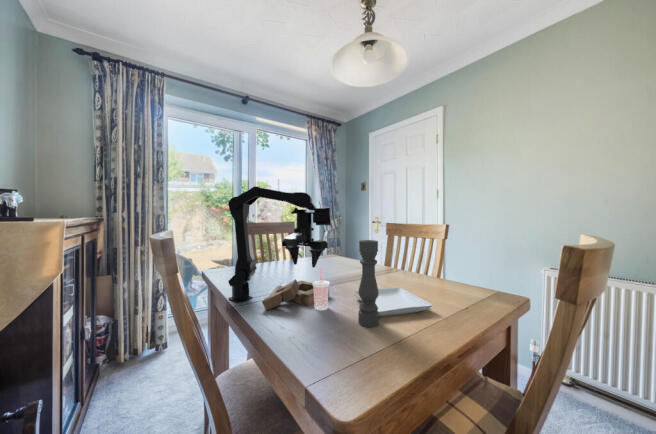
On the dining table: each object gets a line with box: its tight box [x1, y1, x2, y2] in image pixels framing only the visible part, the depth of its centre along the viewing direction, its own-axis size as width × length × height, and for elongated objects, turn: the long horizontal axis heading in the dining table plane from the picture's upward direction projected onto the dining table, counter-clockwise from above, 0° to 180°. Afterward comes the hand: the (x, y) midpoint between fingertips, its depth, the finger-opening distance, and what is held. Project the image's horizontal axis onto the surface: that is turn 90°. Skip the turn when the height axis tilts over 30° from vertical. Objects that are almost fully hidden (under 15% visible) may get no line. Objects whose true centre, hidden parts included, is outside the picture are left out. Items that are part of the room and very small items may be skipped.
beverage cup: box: [311, 268, 331, 311], centre depth 87 cm, size 6×6×14 cm
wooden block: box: [261, 279, 299, 312], centre depth 93 cm, size 4×11×18 cm
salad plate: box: [352, 287, 433, 317], centre depth 89 cm, size 21×21×3 cm
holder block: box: [279, 280, 330, 307], centre depth 98 cm, size 15×13×4 cm
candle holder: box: [357, 239, 380, 328], centre depth 75 cm, size 6×6×25 cm
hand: (304, 265), depth 95 cm, fingers open, 9 cm apart
